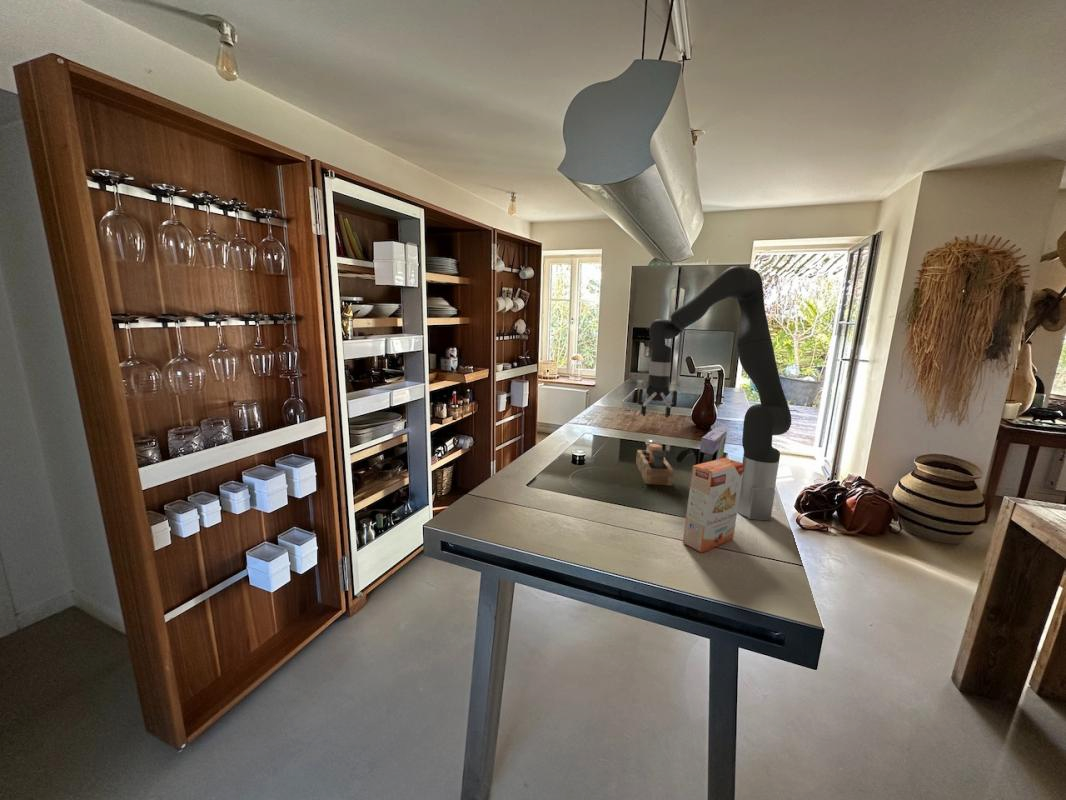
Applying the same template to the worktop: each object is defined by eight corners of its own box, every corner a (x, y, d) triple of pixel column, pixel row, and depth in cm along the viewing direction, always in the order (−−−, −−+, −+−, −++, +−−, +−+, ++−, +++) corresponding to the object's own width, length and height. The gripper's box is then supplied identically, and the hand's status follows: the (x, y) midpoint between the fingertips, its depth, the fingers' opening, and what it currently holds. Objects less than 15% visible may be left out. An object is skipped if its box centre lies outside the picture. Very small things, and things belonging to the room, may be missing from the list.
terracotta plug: (661, 467, 152) (663, 448, 151) (648, 466, 152) (650, 447, 151) (658, 463, 157) (660, 444, 155) (646, 462, 157) (648, 443, 156)
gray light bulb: (665, 474, 145) (667, 453, 144) (651, 473, 146) (653, 453, 144) (662, 469, 150) (664, 450, 148) (649, 468, 150) (651, 449, 149)
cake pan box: (707, 490, 142) (714, 439, 138) (692, 486, 144) (698, 436, 141) (721, 475, 157) (727, 429, 154) (707, 472, 160) (713, 427, 156)
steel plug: (657, 461, 159) (659, 442, 158) (645, 460, 159) (646, 441, 158) (655, 457, 163) (656, 439, 162) (643, 456, 164) (644, 438, 162)
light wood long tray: (672, 485, 144) (673, 470, 143) (645, 483, 145) (646, 468, 144) (659, 464, 166) (660, 451, 165) (636, 463, 166) (637, 449, 165)
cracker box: (702, 554, 100) (713, 472, 97) (681, 543, 105) (690, 464, 101) (735, 540, 108) (746, 463, 104) (714, 530, 113) (723, 456, 109)
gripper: (641, 374, 153) (637, 417, 156) (681, 376, 151) (676, 419, 154) (638, 371, 160) (634, 413, 163) (676, 373, 159) (672, 415, 162)
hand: (655, 416), depth 159 cm, fingers open, 8 cm apart
